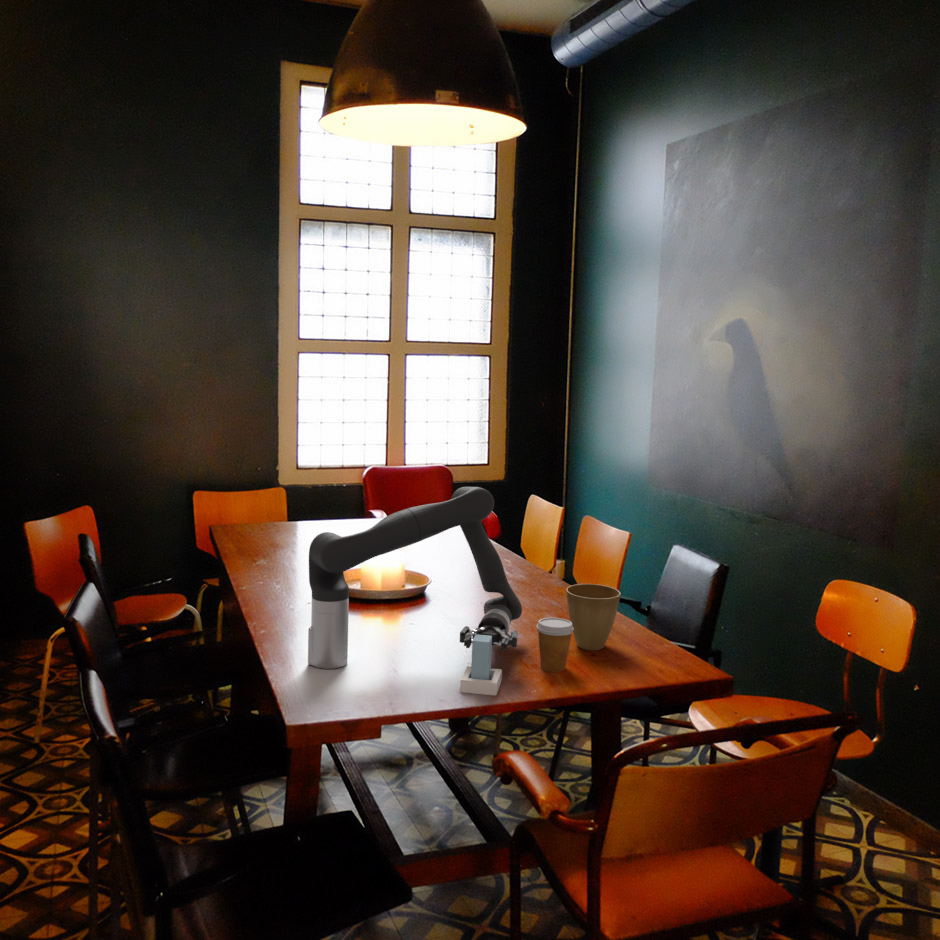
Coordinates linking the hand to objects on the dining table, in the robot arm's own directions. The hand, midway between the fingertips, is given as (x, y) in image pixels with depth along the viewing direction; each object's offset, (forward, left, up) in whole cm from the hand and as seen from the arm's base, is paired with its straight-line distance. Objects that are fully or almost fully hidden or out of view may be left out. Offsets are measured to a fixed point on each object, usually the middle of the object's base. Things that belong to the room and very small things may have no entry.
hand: (484, 645), depth 212 cm
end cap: (0, -3, -9) cm, 10 cm away
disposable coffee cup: (+16, +15, -9) cm, 23 cm away
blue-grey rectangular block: (0, -3, -9) cm, 10 cm away
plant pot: (+25, +35, -9) cm, 44 cm away
